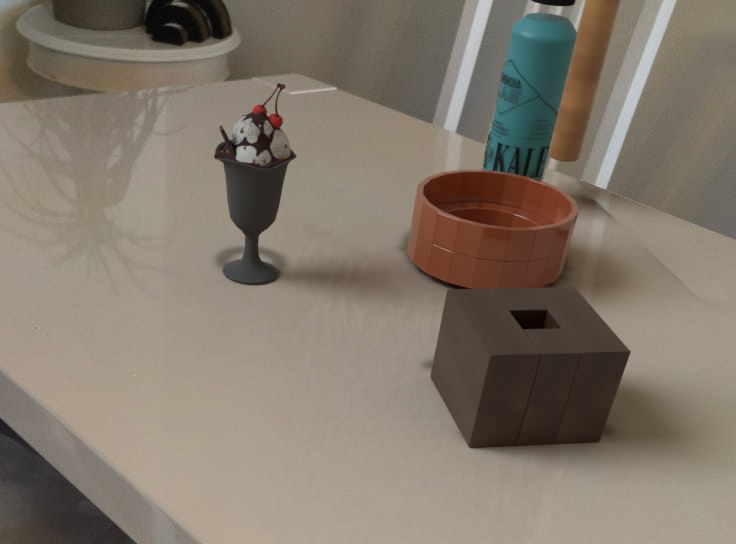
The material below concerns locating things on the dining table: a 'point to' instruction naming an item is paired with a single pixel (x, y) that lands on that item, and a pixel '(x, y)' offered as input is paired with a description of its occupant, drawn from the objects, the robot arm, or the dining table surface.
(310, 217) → the dining table surface
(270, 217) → the sundae
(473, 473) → the dining table surface
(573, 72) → the stick
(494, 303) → the holder
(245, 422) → the dining table surface
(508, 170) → the beverage bottle
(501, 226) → the bowl
